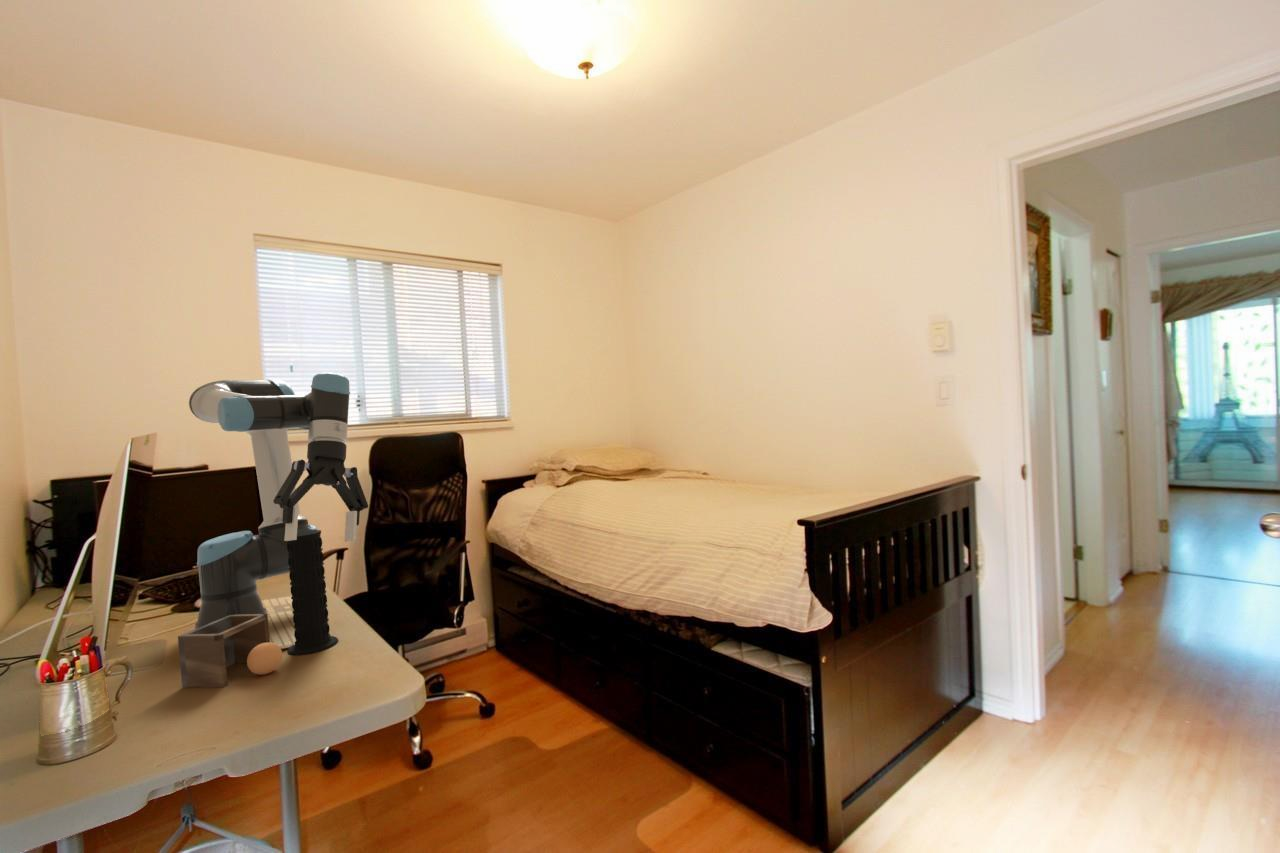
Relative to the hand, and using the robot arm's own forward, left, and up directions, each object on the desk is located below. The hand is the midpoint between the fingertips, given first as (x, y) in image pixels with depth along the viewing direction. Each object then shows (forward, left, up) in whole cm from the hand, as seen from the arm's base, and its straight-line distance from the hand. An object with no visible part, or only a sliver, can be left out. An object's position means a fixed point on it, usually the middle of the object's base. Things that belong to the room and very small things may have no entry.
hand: (321, 540), depth 123 cm
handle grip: (-6, -9, -25) cm, 27 cm away
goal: (+8, -17, -25) cm, 31 cm away
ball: (+8, -9, -22) cm, 25 cm away
